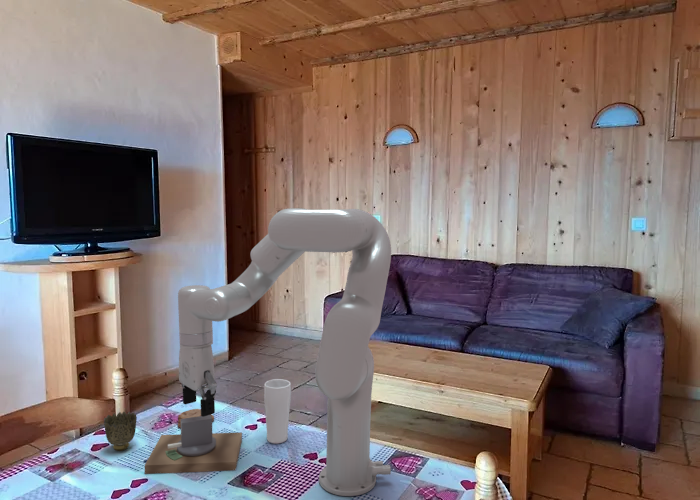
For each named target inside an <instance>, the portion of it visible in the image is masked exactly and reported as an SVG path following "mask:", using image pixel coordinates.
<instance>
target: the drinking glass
mask: <svg viewBox="0 0 700 500" xmlns="http://www.w3.org/2000/svg"><path fill="white" fill-rule="evenodd" d="M291 385H292V384H291V381H289V380H287V379H282V378H274V379H270V380H267V381H266V382H264V385H263V386H264V389H263V391H264V392H263V401H264V402H263V403H264V413H265V426H266V427H265V428H266V439H267V441H268V442H269V443H271V444H282V443H284V442H286V441H287V440H288V435H289V434H288V432H289V431H288V430H289V419H290V409H291V399H292V398H291V397H292V395H291V394H292V388H291V387H292V386H291Z"/></svg>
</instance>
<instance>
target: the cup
mask: <svg viewBox="0 0 700 500" xmlns="http://www.w3.org/2000/svg"><path fill="white" fill-rule="evenodd" d="M137 419H138V417H137V414H136V413H135V412H130V411H129V412H128V413H126V412H125V411H123V412H121V411H118V412H117V414H116V412H114V413H113V414H112V415H110V414H107V416H106V417H104V419H103V424H104V433H105V436H106V440H107V441H108V443H109V444H111V445H112V448H113V450H114V451H116V452H122V451H126V450H127V449H128V448H129V446H130V442H131V441H132V440H133V439H134V437H135V434H136V428H137Z"/></svg>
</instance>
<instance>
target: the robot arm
mask: <svg viewBox="0 0 700 500" xmlns="http://www.w3.org/2000/svg"><path fill="white" fill-rule="evenodd" d="M267 230H268V231H267V234H266V235H265V236H264V237H263V238H262V239H261V240H260V241H259V242H258V243H257V244H256V245H255V246H254V247H253V248H252V249H251V251H250V259H251V262H250V264H249V265H248V267H247V268H246V269H245V270H244V271H243V272H242V273H241V274H240V275H239V276H238V277H237V278H236V279H235V280H234V281H232V282H231V283H229V284H225V285H221V286H219V287H215V288H210V287H209V286H207V285H203V284H202V285H201V284H199V285H197V284H196V285H192V284H191V285H185V286H183V287H181V288H180V289H179V290H178V293H177V305H178V306H177V307H178V331H179V333H178V334H179V335H178V336H179V339H178V340H179V353H178V380H179V381H178V382H180V383H181V387H182V404H184V405H189V404H191V403H195V402H197V391H199V393H200V397H201V399H199V400H200V409H201V416H202V417H204V416H208V415H213V414H215V413H216V407H215V405H216V404H215V403H216V401H215V398H216V393H217V386H218V384H217V381H216V380H215V364H214V353H213V348H212V345H213V344H214V335H213V334H214V333H213V322H217V323H218V322H223V321H226V320H228V319H232V318H233V317H236V316H238V315H240V314H242V313H244V312H246V311H248V310H249V309H250V308H251V307H252V306H253V305H255V304H256V303H257V302H258V301H259V300H260V299H261V298H262V297H264V295H265V294H266V293H267V292H268V291H269V290H270V289H271V287H272V286H273V285H274V284H275V283H276V282H277V281H278V279H279V277H280V276H281V275H282V274H283V273H284V272H285V271H286V270H287V269H288V268H289V267H291V266H292V265H293V264H294V263H295V262H296V261H297V260H298V259H299V258H300V257H301V256H302V255H303V254H304V253H306V252H310V253H311V252H312V253H347V252H352V253H351V254H352V256H351V261H350V265H349V266H348V267H349V268H348V270H347V274H346V275H347V277H346V283H345V287H344V290H343V295H342V297H341V299H340V300H339V301H338V302H337V303H336V304H334V305H333V306H332V307H331V309H330V310H329V311H328V313H327V316H326V318H325V321H324V323H323V328H322V334H321V338H320V343H319V347H318V351H317V358H316V364H315V371H314V375H315V381H316V384H317V387H318V389H319V391H320V392H321V393H322V394H323V395H324V397H326V398H327V404H326V405H327V408H326V462H325V463H326V464H325V465H326V466H325V467H324V468H322V470H320V473H319V475H318V482H319V484H320V486H321V488H323V490H324V491H327V492H328V493H330V494H332V495H336V496H343V497H353V496H360V495H363V494H366V493H368V492H369V491H371V490H372V489H374V487H375V486H376V483H377V475H384V476H385V475H392V474H391V473H392V472H391V471H392V470H391V464H385V465H384V461H383V460H376V461H373V460H372V459H371V456H370V452H371V449H370V448H371V418H372V417H371V413H372V392H373V391H372V390H373V383H374V372H375V360H374V355H373V352H372V350H371V348H370V347H369V344H370V339H371V337H372V335H373V334H374V333H375V332H376V331H377V330H378V328H379V325H380V322H381V315H382V309H383V305H384V299H385V294H386V290H387V289H386V288H387V283H388V277H389V272H390V268H391V267H390V266H391V260H392V247H391V241H390V237H389V234H388V232H387V229H386V228H385V226H383V224H382V223H381V221H379V220H378V218H376V217H375V216H374V215H373V214H371V213H369V212H367V211H365V210H362V209H358V208H346V209H345V208H342V209H308V208H302V207H301V208H300V207H299V208H298V207H296V208H295V207H294V208H293V207H292V208H289V207H288V208H284V209H281V210H278V211H277V212H276V213H275V214H274V215H273V216H272V217H271V219H270V221H269V223H268V228H267ZM205 390H206V392H205Z"/></svg>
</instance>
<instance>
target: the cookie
mask: <svg viewBox="0 0 700 500" xmlns="http://www.w3.org/2000/svg"><path fill="white" fill-rule="evenodd" d="M198 416H201V408H193V409H188V410H185V411H183V412H181V413H180V414H178V416H177V420H178V422H177V427H178V428H179V429H181V419H184V418H191V417H198ZM211 417H212V423H214V420H215V417H214V415H213V414H211Z"/></svg>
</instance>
